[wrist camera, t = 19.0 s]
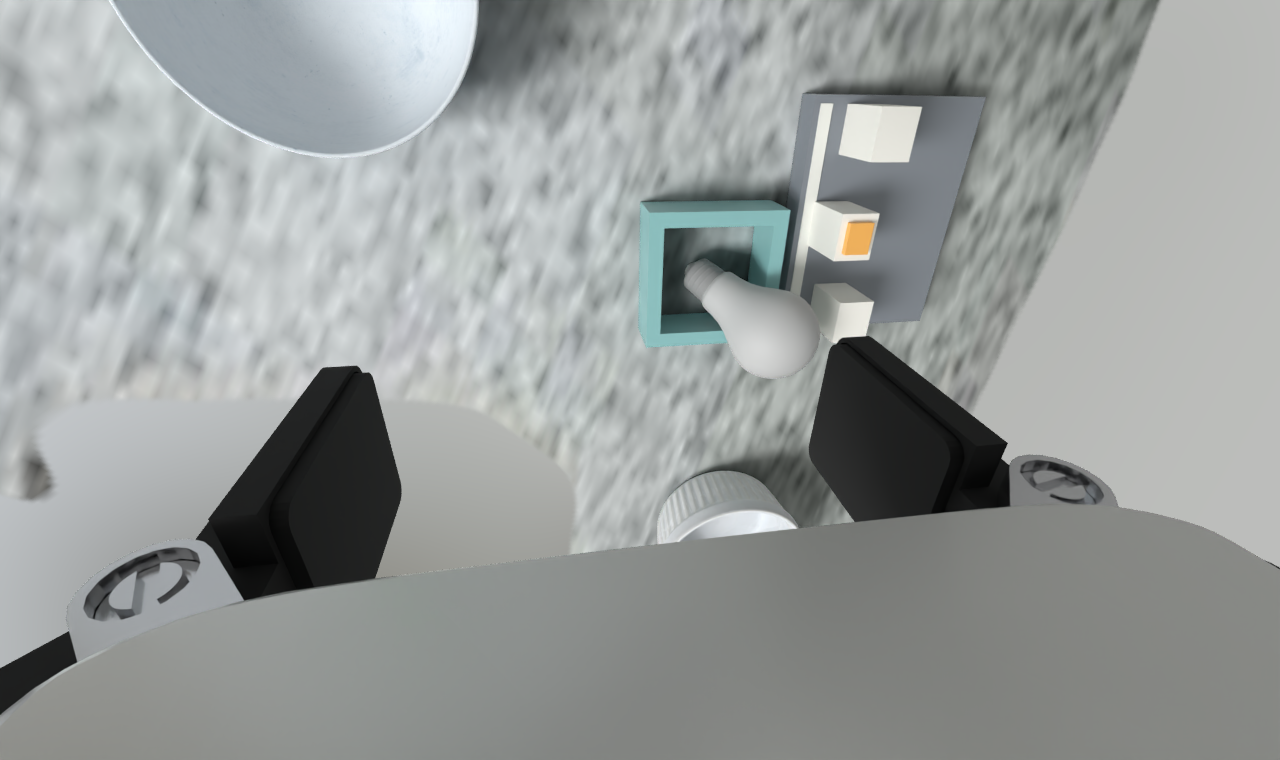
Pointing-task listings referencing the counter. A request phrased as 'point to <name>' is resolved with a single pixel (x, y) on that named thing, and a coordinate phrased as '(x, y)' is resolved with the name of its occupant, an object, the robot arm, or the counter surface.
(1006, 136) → the counter surface
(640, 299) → the socket
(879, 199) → the breaker panel
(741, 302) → the lightbulb
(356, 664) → the robot arm
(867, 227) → the block
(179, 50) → the chinaware
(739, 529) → the ramekin
